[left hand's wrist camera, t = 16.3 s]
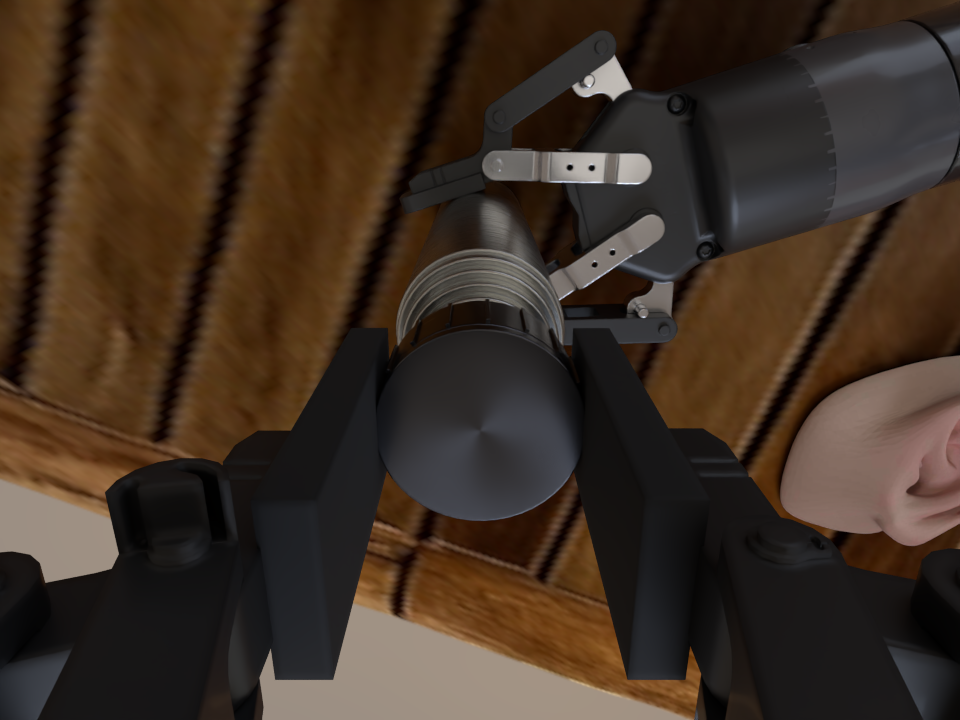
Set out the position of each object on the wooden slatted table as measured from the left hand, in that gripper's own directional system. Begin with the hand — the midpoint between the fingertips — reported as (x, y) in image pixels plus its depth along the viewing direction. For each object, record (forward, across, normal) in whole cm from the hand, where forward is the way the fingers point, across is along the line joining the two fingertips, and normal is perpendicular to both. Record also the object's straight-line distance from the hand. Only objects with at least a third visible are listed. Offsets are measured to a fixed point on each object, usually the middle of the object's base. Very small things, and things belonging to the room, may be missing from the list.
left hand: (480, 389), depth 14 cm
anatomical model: (+23, +25, -14) cm, 37 cm away
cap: (-2, 0, 0) cm, 2 cm away
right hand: (+17, -2, -1) cm, 17 cm away
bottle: (+23, 0, 0) cm, 23 cm away
